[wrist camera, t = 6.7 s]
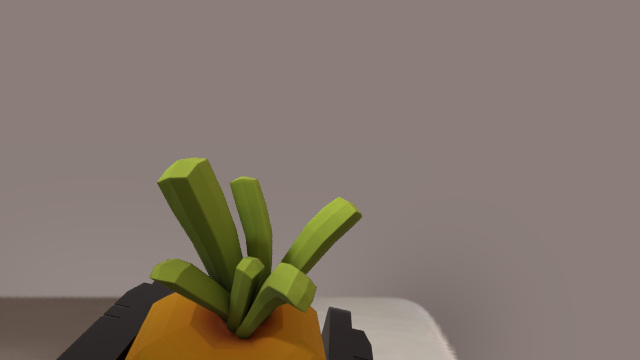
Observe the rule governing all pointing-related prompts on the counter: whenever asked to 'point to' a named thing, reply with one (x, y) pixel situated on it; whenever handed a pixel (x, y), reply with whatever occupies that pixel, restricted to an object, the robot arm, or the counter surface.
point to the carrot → (236, 277)
